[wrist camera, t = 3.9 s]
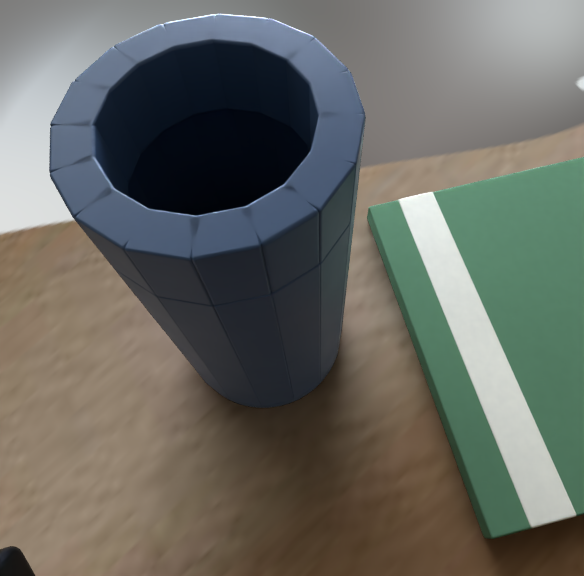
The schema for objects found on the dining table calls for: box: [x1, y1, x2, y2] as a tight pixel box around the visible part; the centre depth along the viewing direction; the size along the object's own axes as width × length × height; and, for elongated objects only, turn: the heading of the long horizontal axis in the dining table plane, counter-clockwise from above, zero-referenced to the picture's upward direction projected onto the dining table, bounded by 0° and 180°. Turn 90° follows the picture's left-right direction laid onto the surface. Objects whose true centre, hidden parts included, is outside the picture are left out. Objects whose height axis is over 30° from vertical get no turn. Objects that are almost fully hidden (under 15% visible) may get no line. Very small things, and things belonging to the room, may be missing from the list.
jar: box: [49, 14, 366, 408], centre depth 17 cm, size 7×7×14 cm
